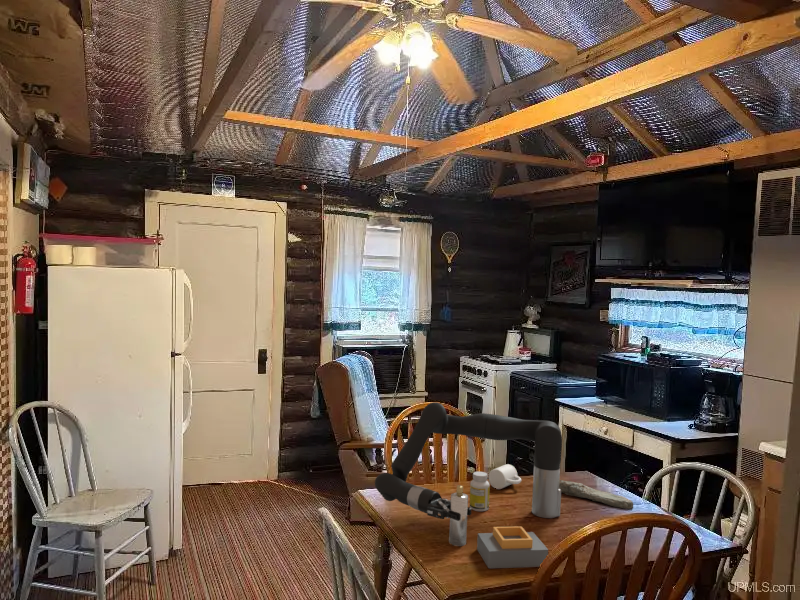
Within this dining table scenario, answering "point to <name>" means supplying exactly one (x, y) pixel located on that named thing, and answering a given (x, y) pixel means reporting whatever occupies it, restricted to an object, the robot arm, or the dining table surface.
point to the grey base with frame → (511, 548)
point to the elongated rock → (594, 494)
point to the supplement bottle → (479, 492)
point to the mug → (503, 476)
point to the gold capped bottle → (460, 527)
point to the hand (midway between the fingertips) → (465, 514)
